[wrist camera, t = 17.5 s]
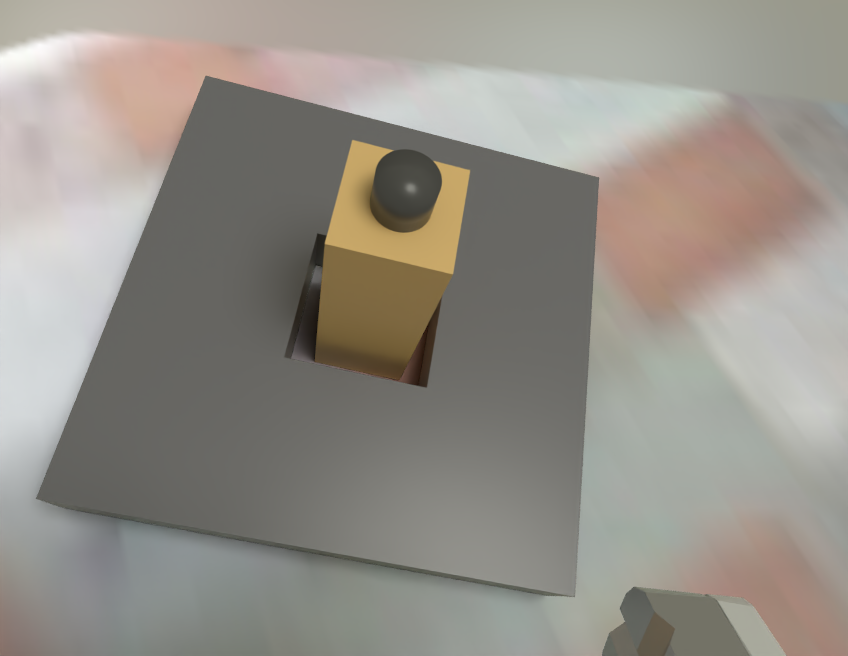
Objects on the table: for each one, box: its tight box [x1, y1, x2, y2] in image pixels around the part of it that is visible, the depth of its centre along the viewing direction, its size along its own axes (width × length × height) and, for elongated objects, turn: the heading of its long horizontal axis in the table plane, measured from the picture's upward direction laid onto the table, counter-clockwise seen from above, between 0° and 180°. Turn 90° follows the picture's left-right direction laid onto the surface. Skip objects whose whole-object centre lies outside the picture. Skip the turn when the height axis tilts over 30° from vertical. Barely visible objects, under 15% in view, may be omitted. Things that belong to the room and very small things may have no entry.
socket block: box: [36, 76, 599, 597], centre depth 28 cm, size 20×20×3 cm
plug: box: [315, 140, 470, 380], centre depth 24 cm, size 4×4×12 cm
